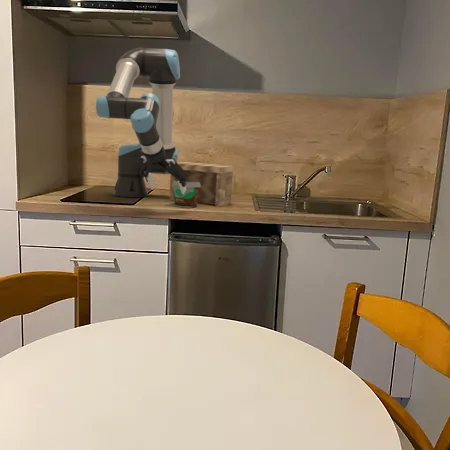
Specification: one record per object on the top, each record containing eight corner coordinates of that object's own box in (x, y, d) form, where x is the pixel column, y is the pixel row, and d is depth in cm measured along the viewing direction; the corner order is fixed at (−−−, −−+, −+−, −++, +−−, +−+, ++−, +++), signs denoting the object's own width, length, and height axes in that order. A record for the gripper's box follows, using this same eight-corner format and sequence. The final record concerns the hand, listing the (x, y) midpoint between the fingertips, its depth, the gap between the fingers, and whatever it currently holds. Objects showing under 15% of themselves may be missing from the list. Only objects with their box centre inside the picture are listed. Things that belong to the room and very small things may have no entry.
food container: (166, 204, 217) (167, 180, 215) (173, 203, 222) (174, 179, 221) (193, 207, 212) (194, 183, 211) (199, 206, 218) (201, 182, 216)
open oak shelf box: (169, 200, 232) (170, 162, 229) (182, 197, 243) (184, 161, 240) (219, 206, 223) (221, 167, 220) (230, 203, 234) (233, 166, 231)
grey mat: (164, 205, 217) (164, 204, 217) (173, 203, 224) (173, 202, 224) (188, 208, 213) (188, 207, 213) (197, 206, 220) (197, 205, 220)
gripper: (118, 152, 193) (137, 192, 209) (179, 159, 184) (193, 200, 200) (128, 138, 197) (145, 178, 213) (187, 144, 188) (201, 186, 204)
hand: (168, 189), depth 206 cm, fingers open, 13 cm apart
